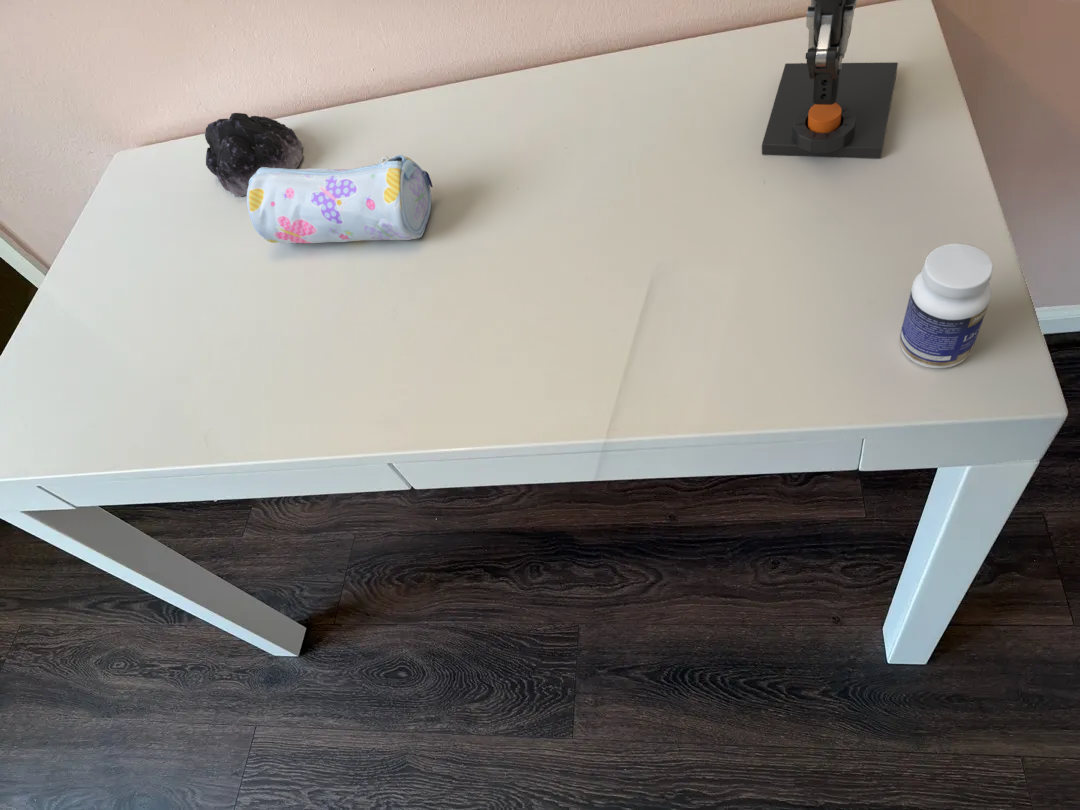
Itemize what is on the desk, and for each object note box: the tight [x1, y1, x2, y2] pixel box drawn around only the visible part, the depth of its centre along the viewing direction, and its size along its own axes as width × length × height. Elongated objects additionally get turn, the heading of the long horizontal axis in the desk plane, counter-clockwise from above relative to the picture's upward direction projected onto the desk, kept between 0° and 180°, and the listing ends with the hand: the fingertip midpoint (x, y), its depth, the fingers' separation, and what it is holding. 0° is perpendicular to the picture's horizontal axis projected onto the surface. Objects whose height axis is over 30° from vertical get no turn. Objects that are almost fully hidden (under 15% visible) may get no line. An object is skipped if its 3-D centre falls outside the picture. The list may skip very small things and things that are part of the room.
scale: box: [761, 62, 899, 159], centre depth 83 cm, size 12×15×3 cm
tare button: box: [808, 103, 842, 133], centre depth 80 cm, size 3×3×2 cm
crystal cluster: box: [204, 112, 304, 198], centre depth 102 cm, size 13×14×10 cm
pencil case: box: [246, 154, 434, 244], centre depth 89 cm, size 21×9×10 cm, turn 81°
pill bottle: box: [899, 243, 994, 369], centre depth 62 cm, size 6×6×10 cm
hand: (825, 99), depth 78 cm, fingers closed
